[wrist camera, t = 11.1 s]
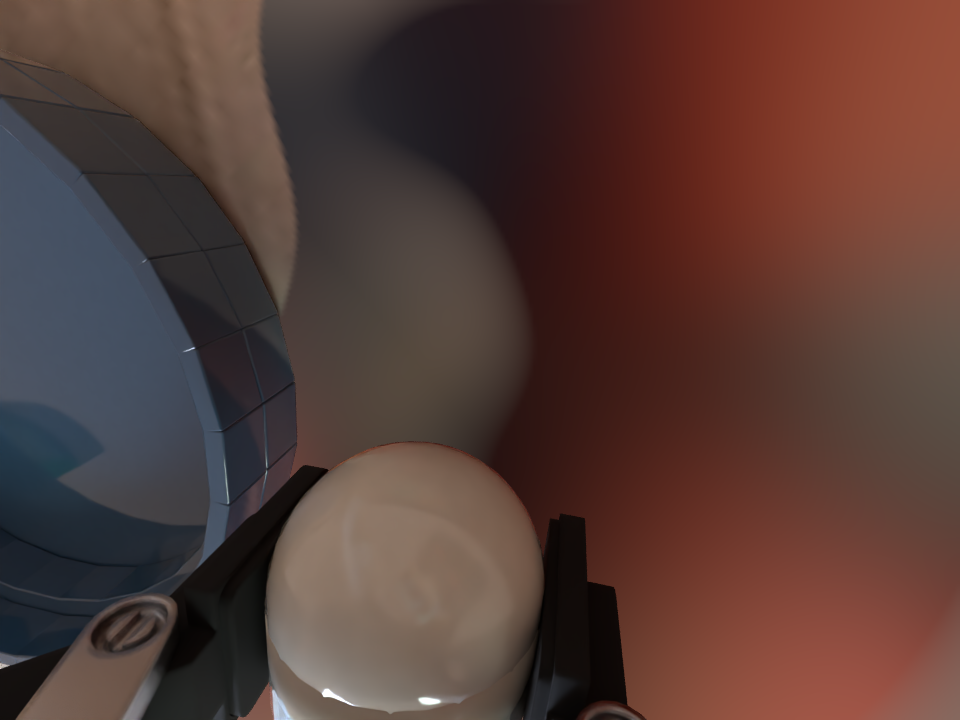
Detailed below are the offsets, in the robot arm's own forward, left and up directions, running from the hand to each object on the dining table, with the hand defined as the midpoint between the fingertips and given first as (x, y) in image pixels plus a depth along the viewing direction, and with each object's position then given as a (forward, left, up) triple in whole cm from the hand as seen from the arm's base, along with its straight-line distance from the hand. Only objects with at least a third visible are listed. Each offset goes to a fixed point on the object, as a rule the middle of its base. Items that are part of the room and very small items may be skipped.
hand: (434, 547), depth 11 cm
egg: (0, 0, -1) cm, 1 cm away
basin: (0, -16, -5) cm, 17 cm away
